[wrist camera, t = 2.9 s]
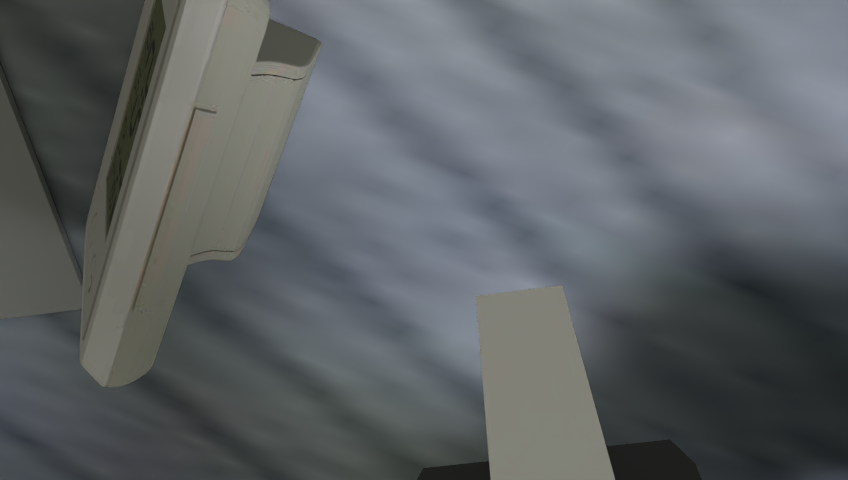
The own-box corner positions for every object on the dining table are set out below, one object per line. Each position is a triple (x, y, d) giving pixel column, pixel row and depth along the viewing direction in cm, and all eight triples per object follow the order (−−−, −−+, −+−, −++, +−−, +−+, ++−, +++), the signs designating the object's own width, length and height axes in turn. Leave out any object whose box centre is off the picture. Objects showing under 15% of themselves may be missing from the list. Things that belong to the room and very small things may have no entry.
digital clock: (200, -133, 31) (94, -119, 21) (397, 5, 33) (380, 74, 24) (34, 189, 37) (-106, 312, 27) (210, 288, 39) (136, 434, 30)
